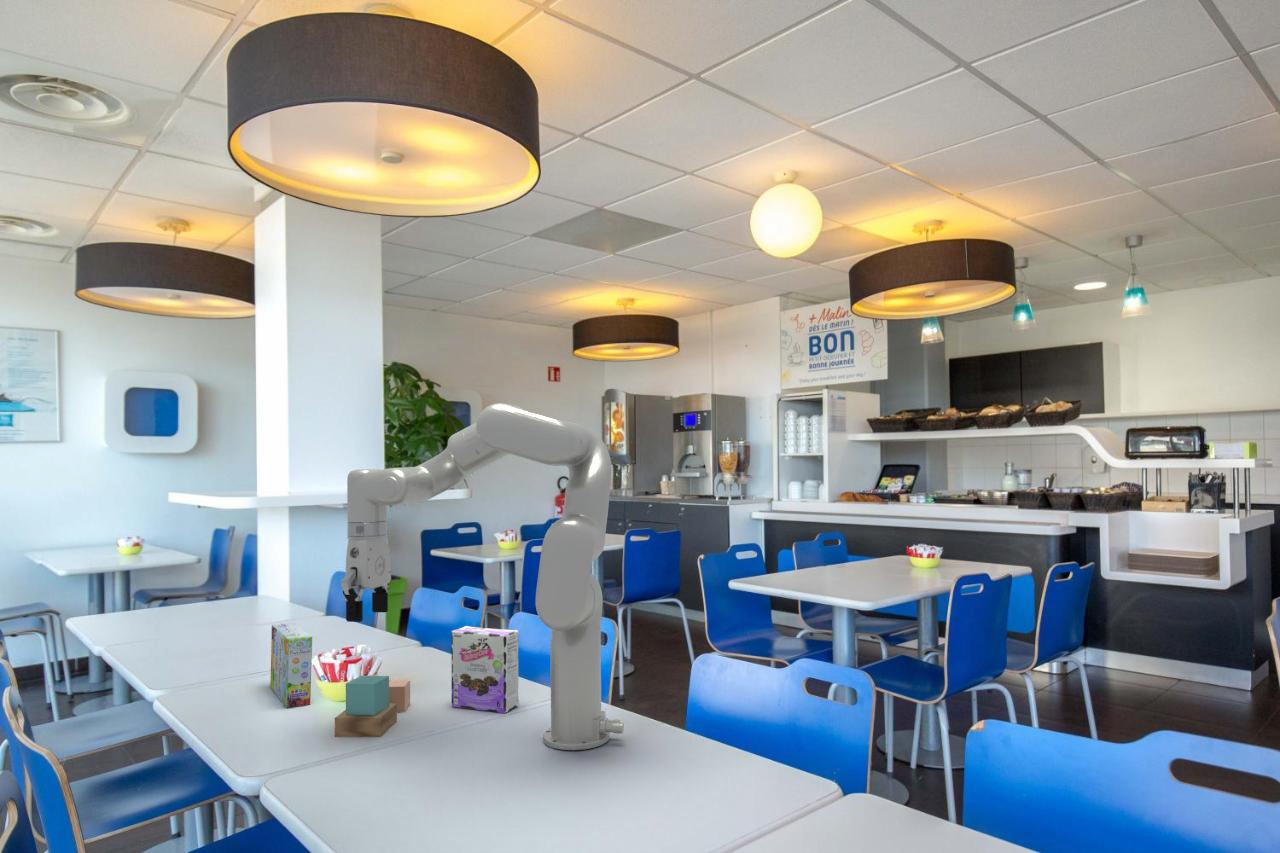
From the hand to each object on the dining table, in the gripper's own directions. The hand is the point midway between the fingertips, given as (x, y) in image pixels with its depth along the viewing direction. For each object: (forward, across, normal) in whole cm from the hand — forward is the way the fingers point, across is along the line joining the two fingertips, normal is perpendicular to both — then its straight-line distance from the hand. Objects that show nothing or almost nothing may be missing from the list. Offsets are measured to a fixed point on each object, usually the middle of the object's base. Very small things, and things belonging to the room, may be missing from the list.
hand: (367, 616), depth 158 cm
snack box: (+22, +19, +30) cm, 42 cm away
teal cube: (+18, 0, 0) cm, 18 cm away
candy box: (+22, +17, -18) cm, 33 cm away
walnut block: (+22, 0, 0) cm, 23 cm away
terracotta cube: (+22, +13, +1) cm, 26 cm away
